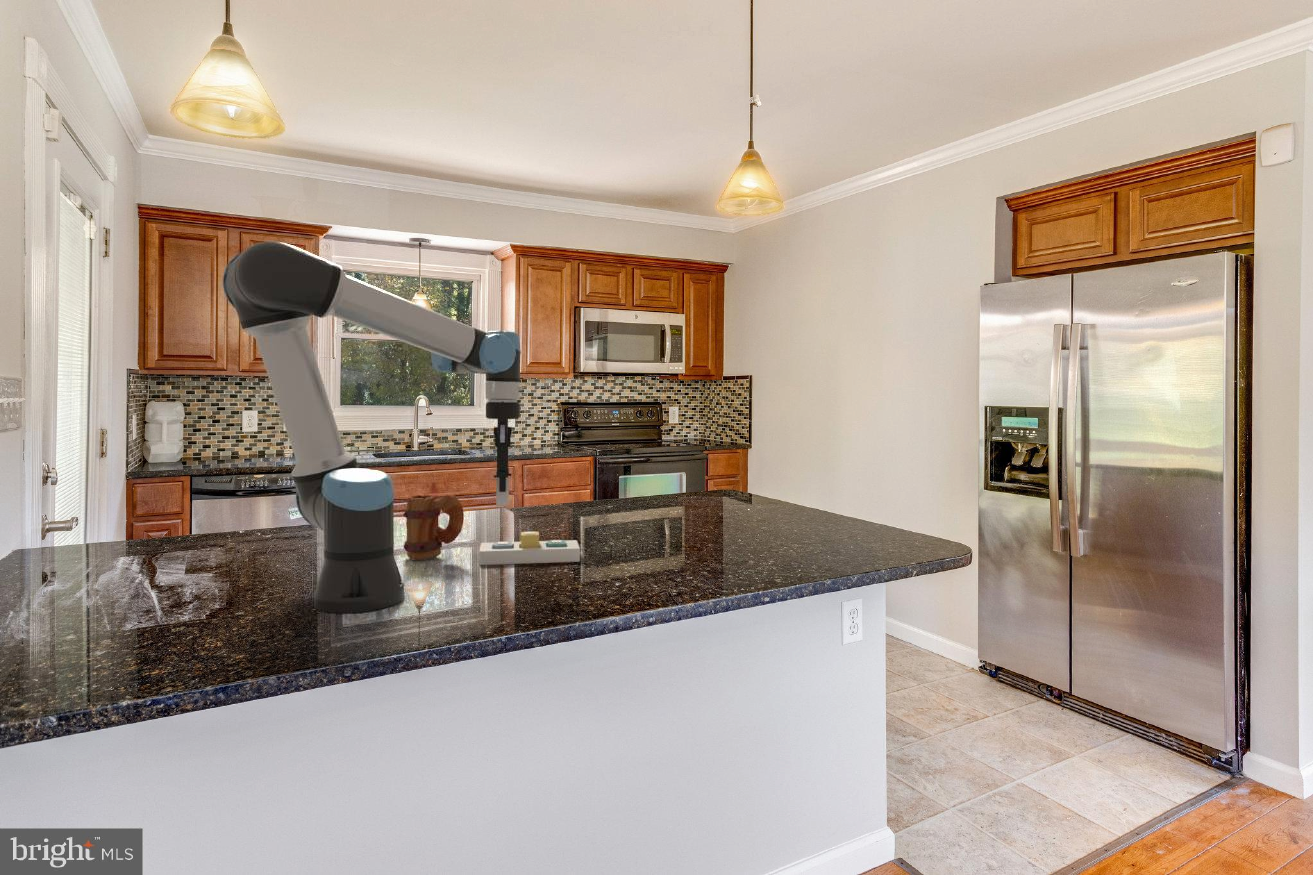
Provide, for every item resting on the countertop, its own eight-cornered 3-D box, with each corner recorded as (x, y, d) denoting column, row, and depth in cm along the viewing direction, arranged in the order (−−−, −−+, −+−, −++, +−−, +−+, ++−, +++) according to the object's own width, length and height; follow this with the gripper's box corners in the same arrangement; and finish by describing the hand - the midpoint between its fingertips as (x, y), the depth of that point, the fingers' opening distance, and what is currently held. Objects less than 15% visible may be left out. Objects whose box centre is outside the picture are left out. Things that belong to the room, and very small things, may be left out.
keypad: (479, 564, 158) (479, 551, 158) (481, 555, 167) (481, 542, 167) (579, 561, 162) (579, 548, 162) (576, 552, 171) (576, 540, 171)
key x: (521, 549, 162) (521, 534, 162) (520, 545, 166) (520, 531, 166) (539, 548, 163) (539, 534, 163) (538, 545, 167) (538, 530, 166)
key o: (493, 559, 161) (493, 544, 161) (494, 555, 165) (494, 541, 165) (511, 559, 162) (511, 544, 161) (512, 555, 166) (511, 540, 165)
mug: (394, 560, 161) (393, 494, 160) (416, 553, 169) (415, 489, 168) (451, 566, 157) (450, 497, 156) (471, 558, 164) (471, 492, 163)
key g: (548, 558, 163) (548, 543, 163) (547, 554, 167) (547, 539, 167) (565, 557, 164) (565, 542, 164) (564, 553, 168) (564, 539, 168)
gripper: (520, 401, 155) (519, 510, 157) (519, 401, 168) (519, 501, 170) (484, 401, 154) (484, 510, 155) (486, 400, 167) (486, 501, 168)
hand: (502, 505), depth 162 cm, fingers closed
